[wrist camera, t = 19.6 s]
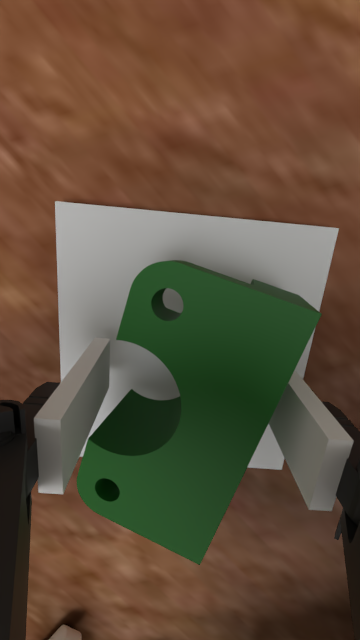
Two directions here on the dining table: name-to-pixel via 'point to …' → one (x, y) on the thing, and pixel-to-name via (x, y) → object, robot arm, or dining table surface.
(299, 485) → the robot arm
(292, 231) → the grey pad
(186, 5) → the dining table surface
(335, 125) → the dining table surface
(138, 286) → the clamp
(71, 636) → the cable organizer
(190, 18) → the dining table surface
